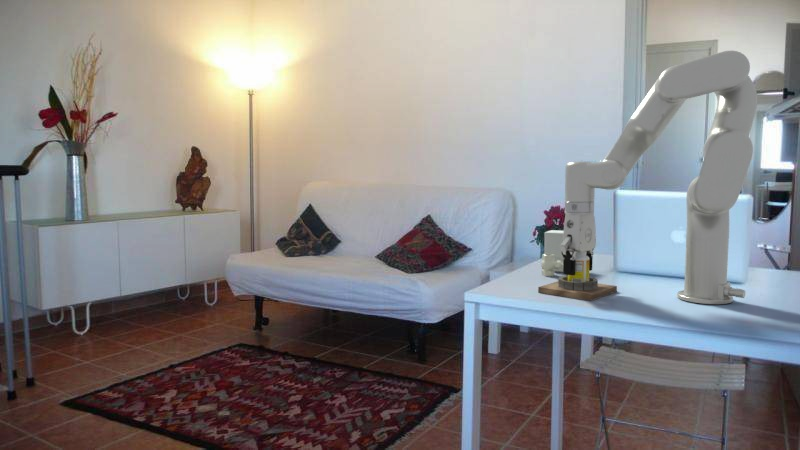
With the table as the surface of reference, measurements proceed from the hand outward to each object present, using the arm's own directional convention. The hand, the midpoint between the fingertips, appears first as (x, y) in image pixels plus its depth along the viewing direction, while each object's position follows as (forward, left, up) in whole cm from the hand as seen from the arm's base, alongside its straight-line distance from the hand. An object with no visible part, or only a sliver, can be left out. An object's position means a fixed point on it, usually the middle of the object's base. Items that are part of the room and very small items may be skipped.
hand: (577, 272), depth 164 cm
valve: (+15, -18, -6) cm, 25 cm away
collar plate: (0, 0, -5) cm, 5 cm away
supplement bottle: (0, 0, -4) cm, 4 cm away
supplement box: (+21, -27, -6) cm, 35 cm away
